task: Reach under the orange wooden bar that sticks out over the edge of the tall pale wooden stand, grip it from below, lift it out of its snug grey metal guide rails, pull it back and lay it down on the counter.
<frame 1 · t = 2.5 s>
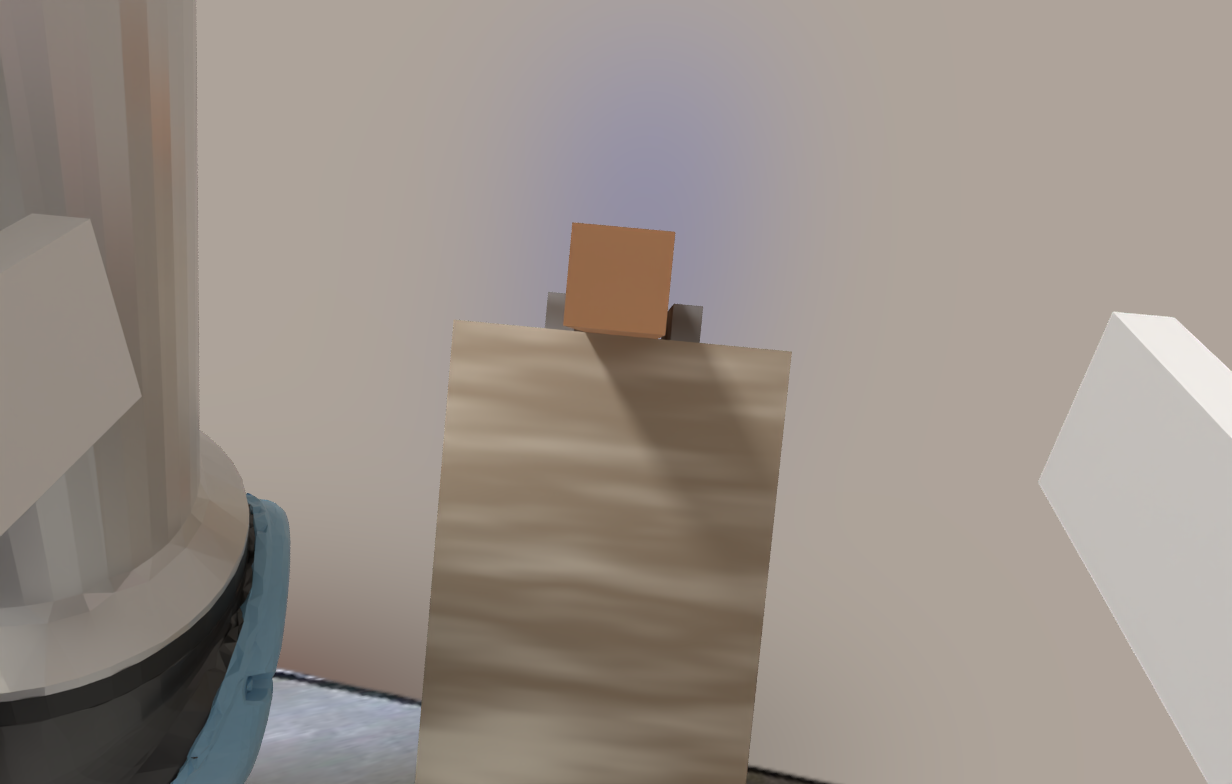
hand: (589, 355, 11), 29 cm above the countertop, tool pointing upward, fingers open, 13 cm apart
orange bar: (622, 336, 37), point 30 cm above the countertop, touching pale stand
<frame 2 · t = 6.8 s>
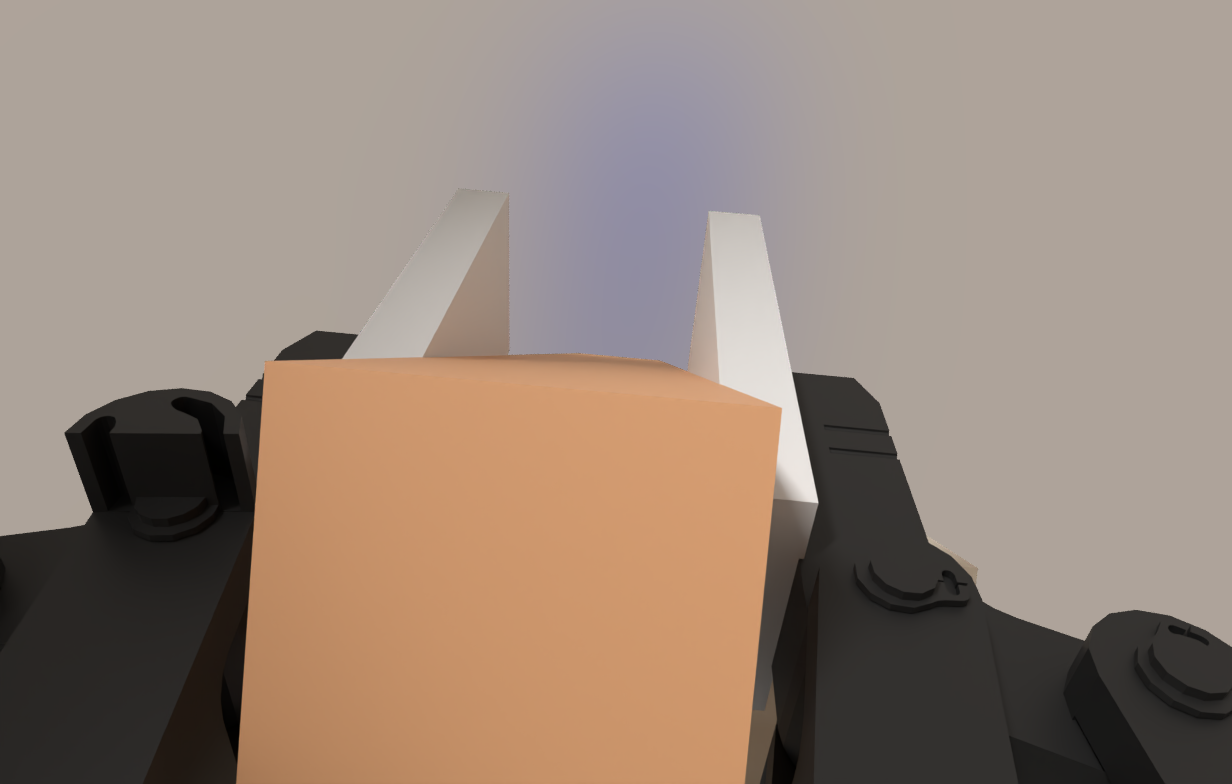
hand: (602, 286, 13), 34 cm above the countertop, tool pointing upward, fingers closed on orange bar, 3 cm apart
orange bar: (593, 499, 18), point 30 cm above the countertop, touching gripper, pale stand
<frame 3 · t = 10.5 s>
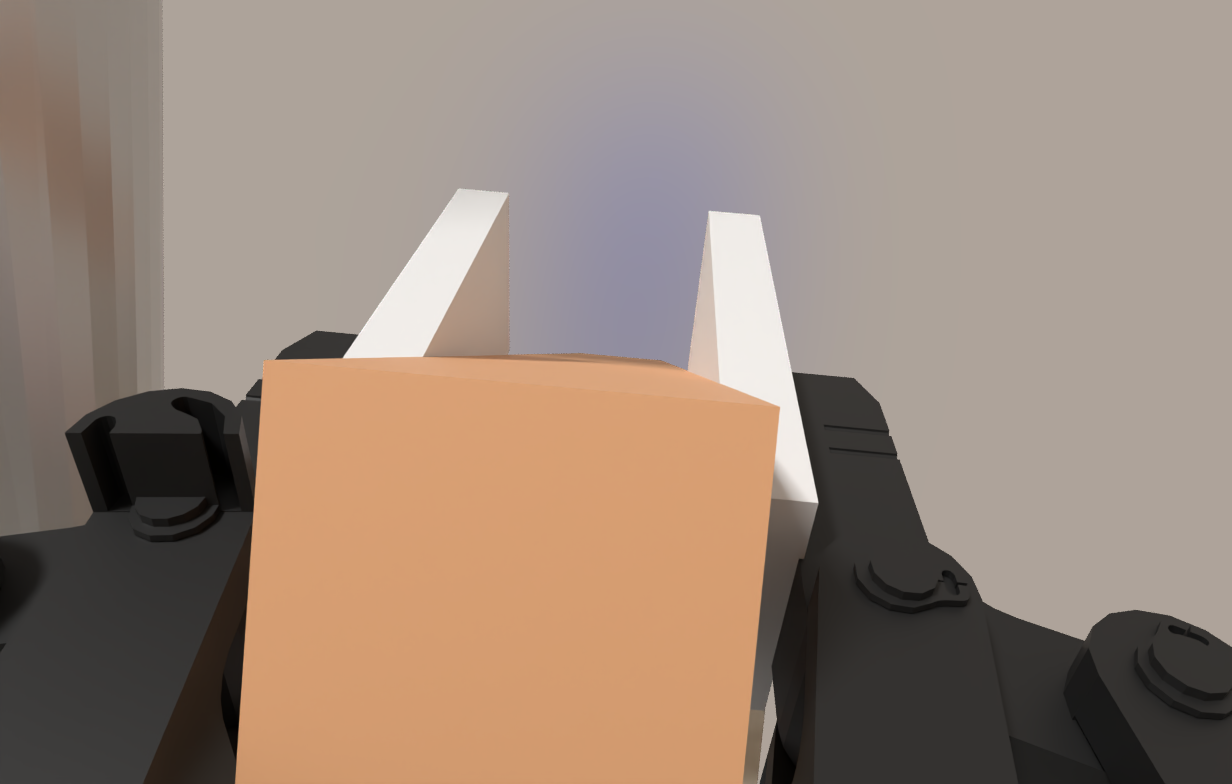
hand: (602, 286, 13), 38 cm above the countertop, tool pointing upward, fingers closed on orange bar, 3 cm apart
orange bar: (595, 499, 18), point 34 cm above the countertop, touching gripper
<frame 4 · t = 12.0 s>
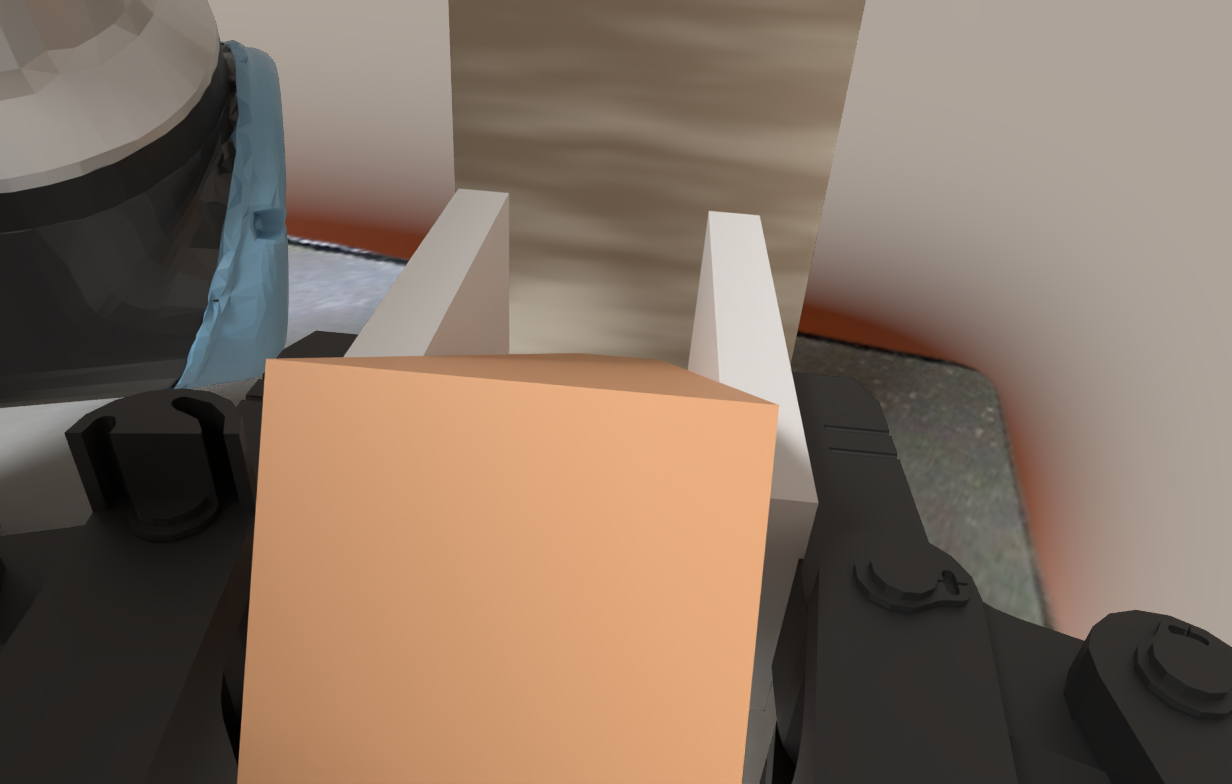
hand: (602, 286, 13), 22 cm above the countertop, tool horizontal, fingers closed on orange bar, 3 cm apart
orange bar: (595, 498, 18), point 16 cm above the countertop, tilted 29°, touching gripper
pale stand: (618, 458, 47), on the countertop
when the fingers open (13 cm above the countertop, at t = 14.0 s): orange bar drops 7 cm, on the countertop.
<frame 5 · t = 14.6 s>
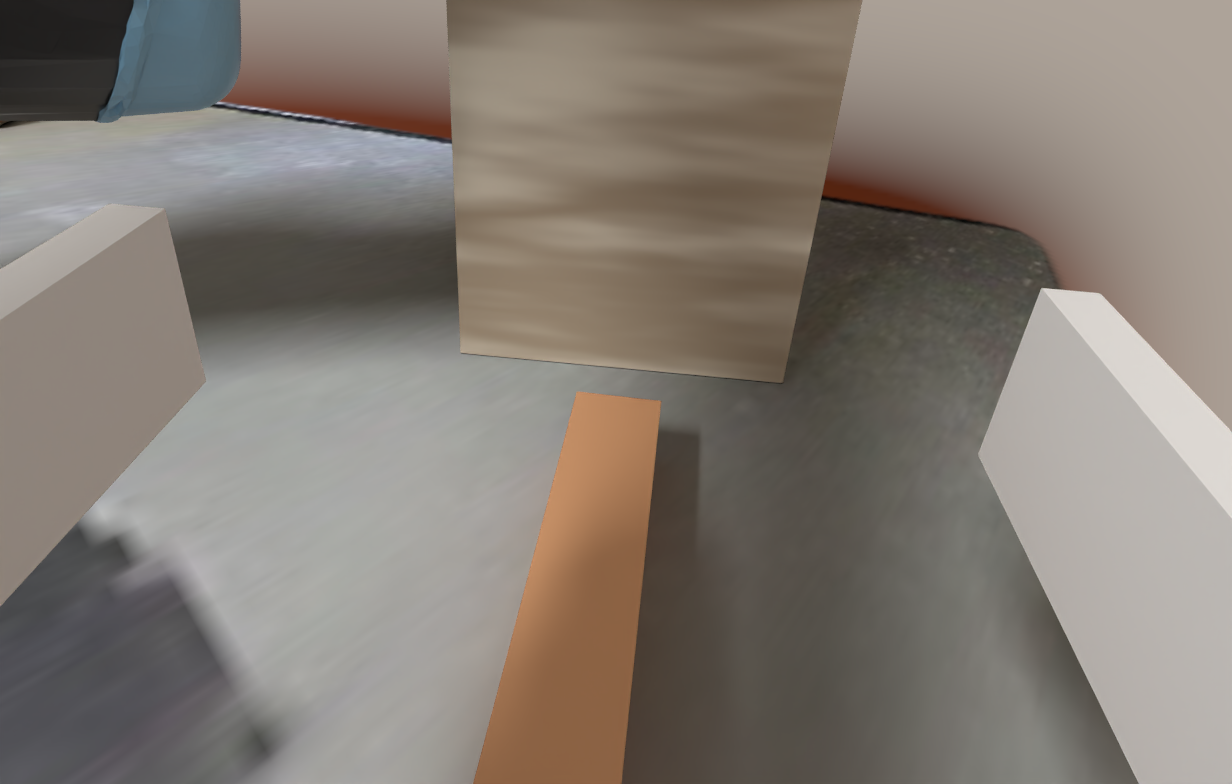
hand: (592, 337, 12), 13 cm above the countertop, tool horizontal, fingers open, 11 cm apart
pale stand: (630, 296, 42), on the countertop
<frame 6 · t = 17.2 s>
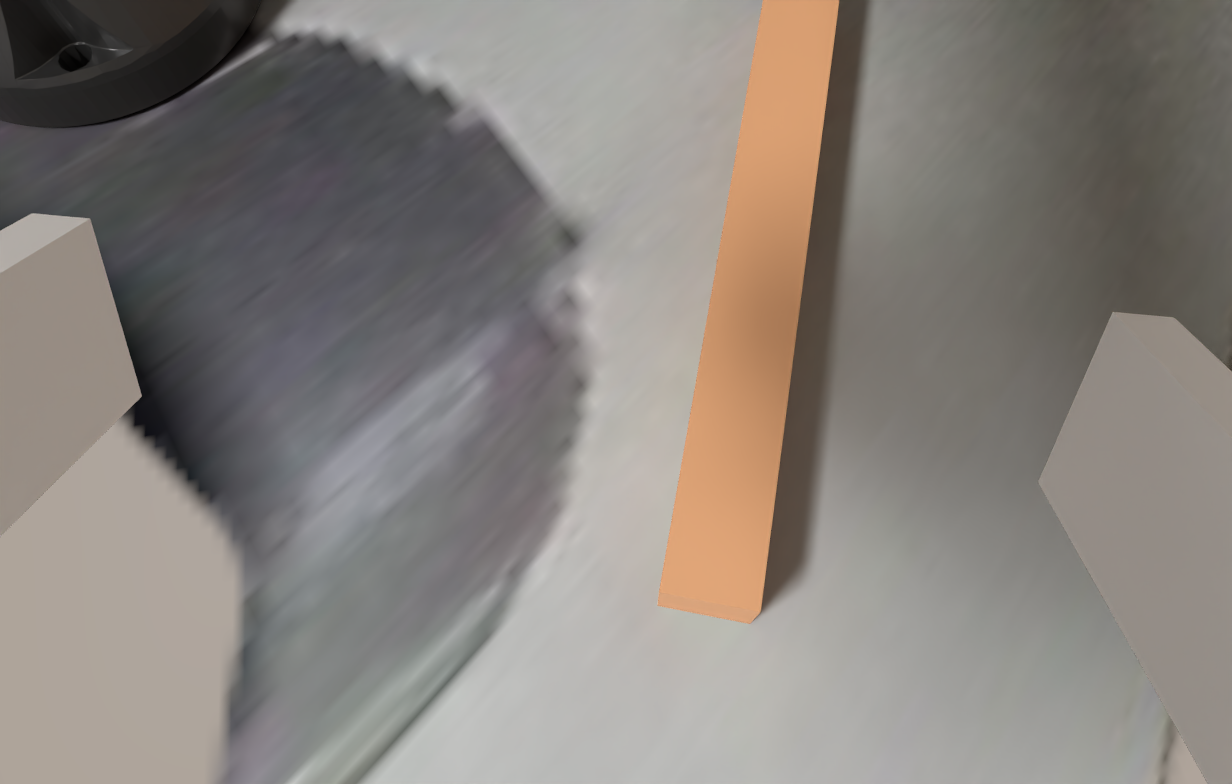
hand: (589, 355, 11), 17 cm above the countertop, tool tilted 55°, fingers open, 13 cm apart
orange bar: (755, 275, 32), on the countertop
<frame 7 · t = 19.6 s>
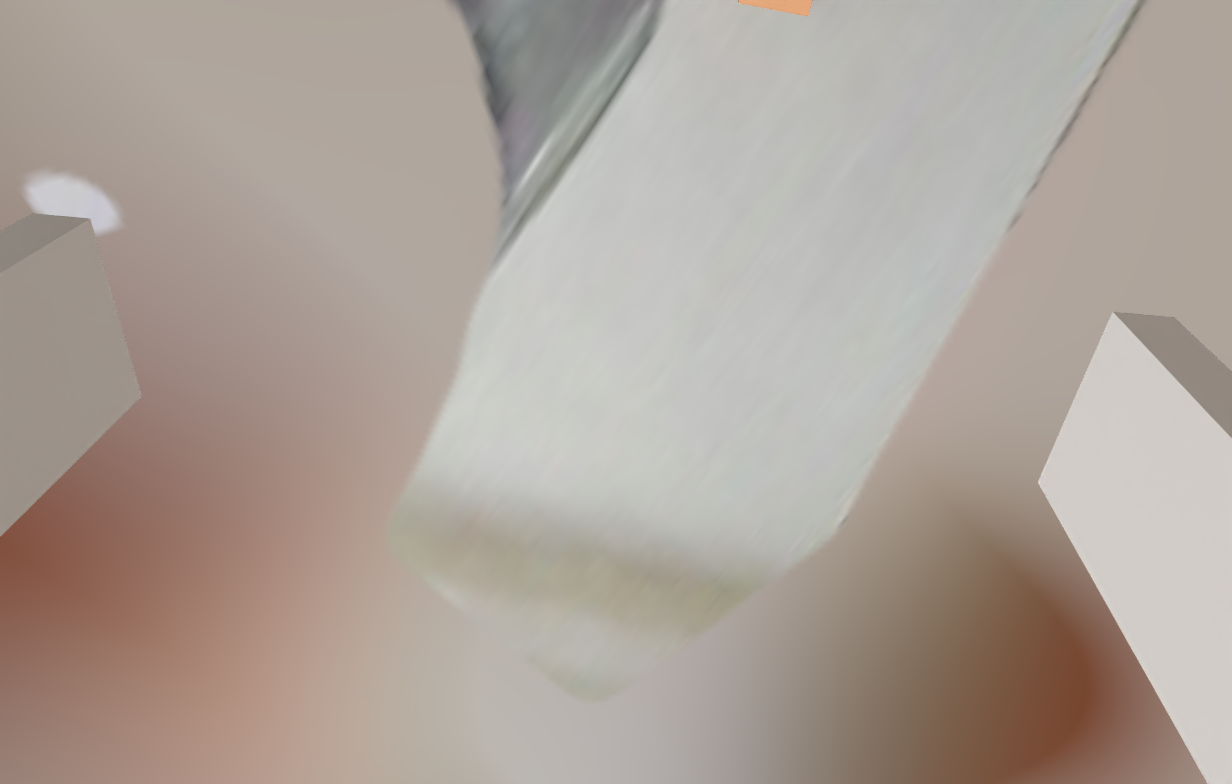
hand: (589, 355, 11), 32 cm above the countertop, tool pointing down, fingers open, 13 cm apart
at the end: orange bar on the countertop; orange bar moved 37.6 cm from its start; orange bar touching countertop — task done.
